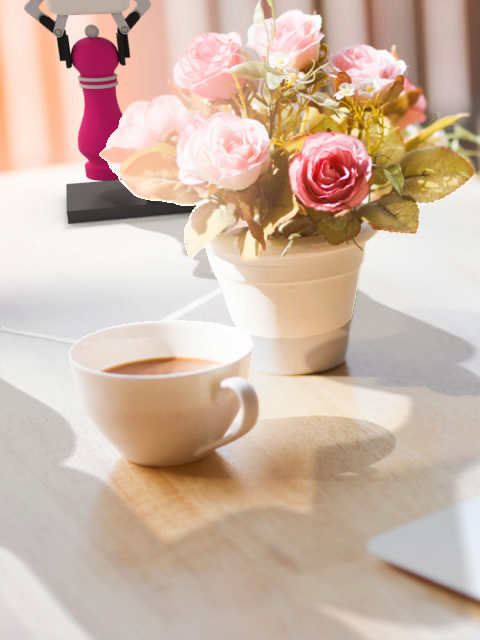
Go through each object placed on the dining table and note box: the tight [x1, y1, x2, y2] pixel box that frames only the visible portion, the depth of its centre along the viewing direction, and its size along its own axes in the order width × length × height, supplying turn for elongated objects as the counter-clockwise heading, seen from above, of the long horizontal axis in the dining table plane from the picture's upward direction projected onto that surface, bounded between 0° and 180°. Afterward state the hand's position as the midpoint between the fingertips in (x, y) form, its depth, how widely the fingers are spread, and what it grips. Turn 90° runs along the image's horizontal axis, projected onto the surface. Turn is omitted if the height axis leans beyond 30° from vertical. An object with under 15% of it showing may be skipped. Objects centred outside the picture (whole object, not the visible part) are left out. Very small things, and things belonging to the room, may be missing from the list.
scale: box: [65, 180, 196, 225], centre depth 160 cm, size 16×14×4 cm
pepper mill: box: [70, 24, 124, 182], centre depth 156 cm, size 7×7×20 cm
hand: (96, 64), depth 154 cm, fingers closed on pepper mill, 6 cm apart
